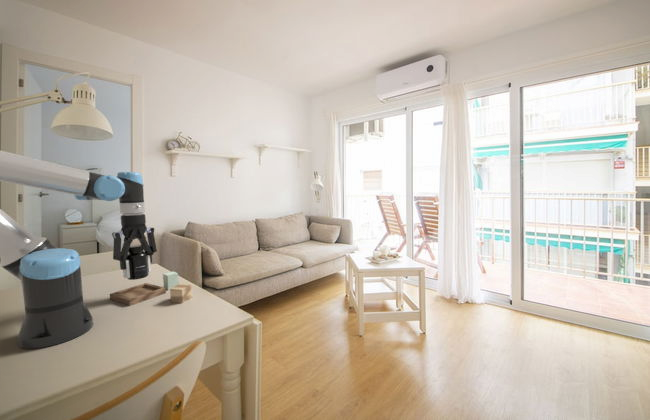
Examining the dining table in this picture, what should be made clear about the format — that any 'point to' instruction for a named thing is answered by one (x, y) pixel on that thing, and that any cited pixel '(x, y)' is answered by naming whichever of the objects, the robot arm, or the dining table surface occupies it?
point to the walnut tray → (137, 294)
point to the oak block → (181, 293)
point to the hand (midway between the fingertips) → (137, 274)
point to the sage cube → (170, 280)
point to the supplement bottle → (137, 262)
